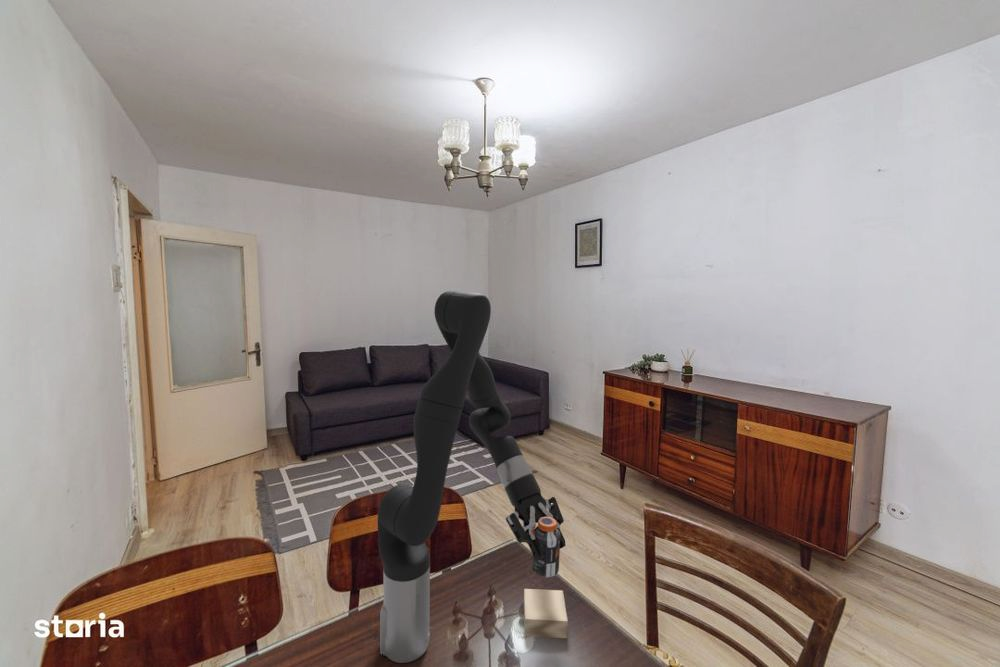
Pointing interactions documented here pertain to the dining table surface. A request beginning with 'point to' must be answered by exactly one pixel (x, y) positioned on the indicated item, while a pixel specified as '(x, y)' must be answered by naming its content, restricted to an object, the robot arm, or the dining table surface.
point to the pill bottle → (547, 547)
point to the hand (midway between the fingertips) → (551, 552)
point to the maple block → (545, 613)
